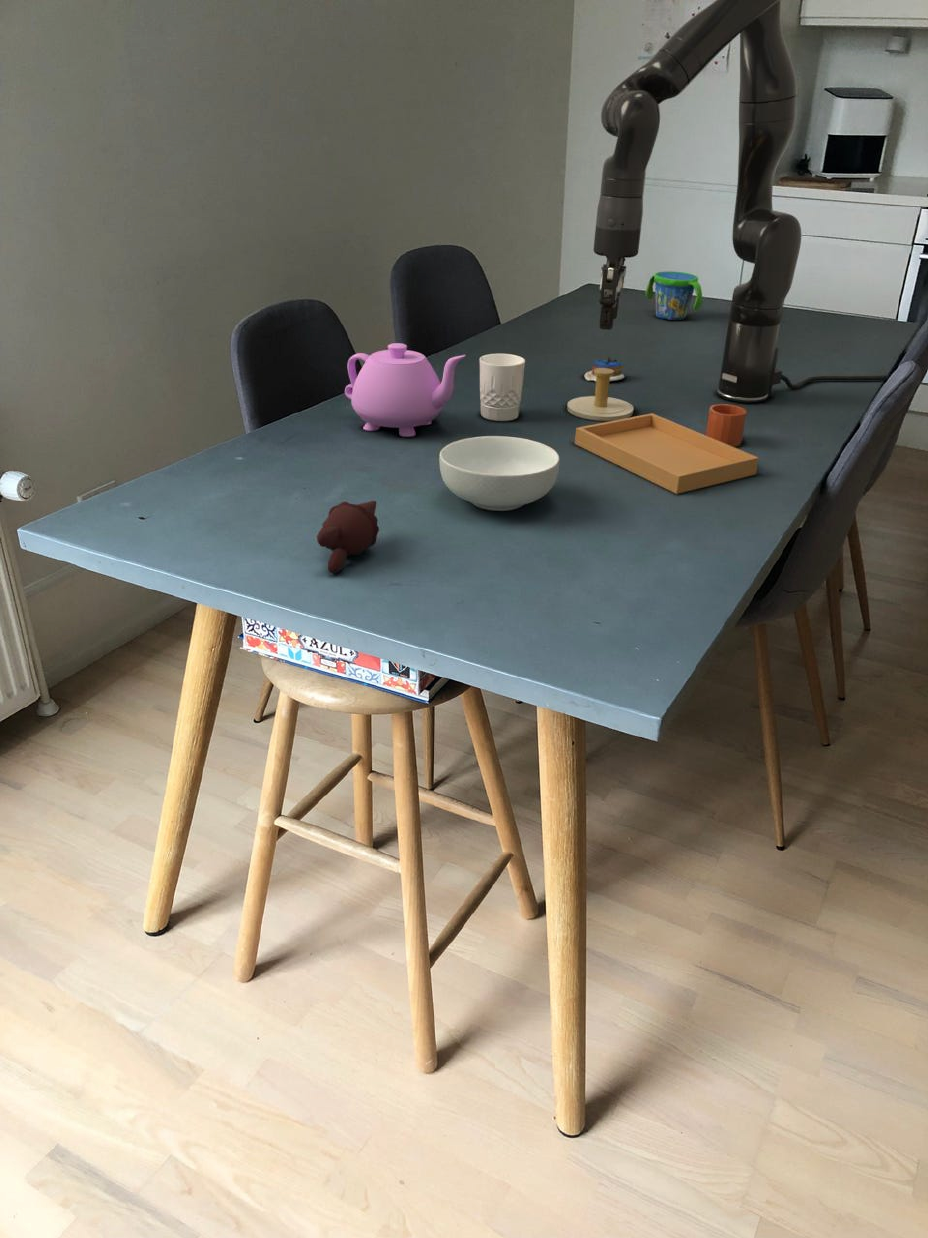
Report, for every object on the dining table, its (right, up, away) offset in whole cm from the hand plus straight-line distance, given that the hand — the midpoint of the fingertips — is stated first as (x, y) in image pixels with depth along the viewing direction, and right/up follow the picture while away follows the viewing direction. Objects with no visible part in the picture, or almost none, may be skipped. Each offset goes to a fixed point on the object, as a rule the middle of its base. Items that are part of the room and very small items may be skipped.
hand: (608, 323), depth 175 cm
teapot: (-36, -19, -3) cm, 40 cm away
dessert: (+3, -3, +26) cm, 27 cm away
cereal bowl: (-20, -35, -30) cm, 50 cm away
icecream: (-40, -43, -46) cm, 75 cm away
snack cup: (+26, +23, +74) cm, 82 cm away
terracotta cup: (+19, -21, -5) cm, 29 cm away
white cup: (-19, -15, +4) cm, 25 cm away
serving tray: (+7, -26, -13) cm, 30 cm away
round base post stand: (0, -14, +8) cm, 16 cm away
